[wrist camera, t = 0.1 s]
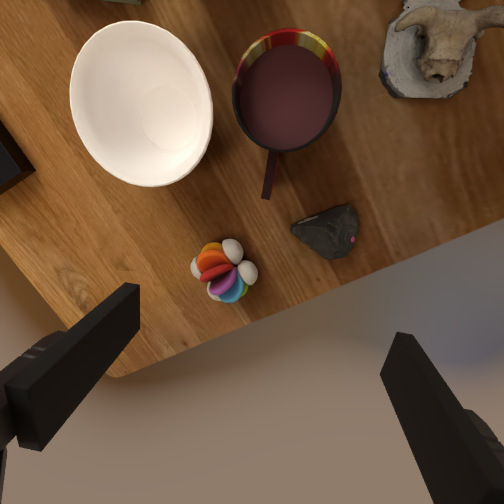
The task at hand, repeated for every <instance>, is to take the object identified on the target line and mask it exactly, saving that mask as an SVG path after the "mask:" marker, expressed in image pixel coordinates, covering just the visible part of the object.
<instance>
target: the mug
mask: <svg viewBox="0 0 504 504" xmlns="http://www.w3.org/2000/svg"><path fill="white" fill-rule="evenodd" d="M341 93H342V80H341V73H340V69H339V65H338V62H337V60H336V58H335V56H334V54H333V52H332V51H331V49H330V48H329V47H328V46H327V44H326V43H325V42H324V41H323V40H321V39H320V38H319V37H318V36H316V35H315V34H312V33H310V32H308V31H306V30H302V29H297V28H282V29H278V30H275V31H271V32H269V33H268V34H266V35H264V36H262V37H260V38H259V39H258V40H257V41H256V42H254V43H253V44H252V45H251V46H250V47H249V49H248V50H247V51H246V52H245V53H244V55H243V57H242V58H241V60H240V62H239V64H238V66H237V69H236V72H235V75H234V79H233V85H232V103H233V108H234V113H235V116H236V118H237V121H238V123H239V125H240V127H241V128H242V130H243V132H244V133H245V134H246V135H247V136H248V137H249V138H250V139H251V140H252V141H253V142H254V143H256V144H257V145H259V146H260V147H263V148H265V149H267V150H269V154H268V160H267V166H266V173H265V179H264V185H263V191H262V195H261V198H262V199H266V200H270V196H271V193H272V189H273V185H274V181H275V175H276V169H277V163H278V158H279V152H292V151H298V150H300V149H303V148H305V147H307V146H309V145H311V144H312V143H314V142H315V141H317V140H318V139H319V138H320V137H321V136H322V135H323V134H324V133H325V132H326V130H327V129H328V128H329V126H330V125H331V124H332V122H333V120H334V118H335V116H336V114H337V111H338V108H339V104H340V101H341Z"/></svg>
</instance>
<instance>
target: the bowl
mask: <svg viewBox="0 0 504 504" xmlns="http://www.w3.org/2000/svg"><path fill="white" fill-rule="evenodd" d="M70 105H71V111H72V116H73V120H74V123H75V126H76V129H77V132H78V134H79V136H80V138H81V140H82V142H83V143H84V145H85V147H86V149H87V150H88V151H89V153H90V154H91V155H92V157H93V158H94V159H95V160H96V161H97V162H98V163H99V164H100V165H101V166H102V167H103V168H104V169H105V170H106V171H108V172H109V173H111V174H112V175H114V176H115V177H117V178H119V179H121V180H123V181H125V182H127V183H130V184H134V185H138V186H142V187H159V186H165V185H169V184H171V183H174V182H176V181H179V180H180V179H182V178H183V177H185V176H186V175H188V174H189V173H190V172H191V171H192V170H193V169H194V168H195V167H196V166H197V164H198V163H199V162H200V160H201V159H202V157H203V155H204V153H205V152H206V149H207V147H208V144H209V141H210V138H211V133H212V127H213V102H212V97H211V92H210V87H209V85H208V82H207V79H206V77H205V74H204V71H203V70H202V68H201V66H200V65H199V63H198V61H197V59H196V58H195V56H194V55H193V54H192V53H191V51H190V50H189V49H188V48H187V47H186V46H185V44H184V43H183V42H181V41H180V40H179V39H178V38H176V37H175V36H174V35H173V34H171V33H170V32H168V31H166V30H164V29H162V28H160V27H158V26H156V25H154V24H150V23H145V22H141V21H121V22H118V23H114V24H111V25H108V26H106V27H104V28H103V29H101V30H99V31H98V32H96V33H95V34H94V35H93V36H92V37H91V38H90V39H89V40H88V41H87V42H86V43H85V44H84V46H83V48H82V49H81V51H80V53H79V54H78V56H77V58H76V61H75V64H74V67H73V70H72V74H71V81H70Z"/></svg>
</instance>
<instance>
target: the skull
mask: <svg viewBox="0 0 504 504" xmlns="http://www.w3.org/2000/svg"><path fill="white" fill-rule="evenodd" d="M459 1H461V0H403V1H402V3H403V4H405V5H404V7H403V8H404V12H403V13H401V16H399V18H398V19H396V20H395V21H394V22H393V23H392V24H391V22H392V21H393V18H392V20H391V21H390V22H389V24H388V30H387V37H386V42H385V48H384V55H383V59H382V64H381V70H380V74H379V77H380V79H381V80H382V83H383V85H384V86H385V87H386V88H387V89H388V92H389V94H390V95H391V96H393V97H394V98H405V97H412V98H447V99H449V98H451V97H453V96H454V95H455V94H457V93H458V92H459V91H461V90H462V89H464V88H466V87H467V86H466V84H467V82H468V81H469V79H468V78H469V77H470V75H472V74H473V73H470V71H471V70H472V61H473V58H472V56H474V52H475V48H476V47H475V46H476V43H475V42H474V40H476V39H479V38H481V37H482V36H483V34H484V31H485V29H487V28H491V27H501V28H504V6H503V5H497V6H496V5H495V6H490V7H486V8H483V9H481V10H475V11H473V10H465V9H463V8H461V6H459V3H458V2H459ZM407 6H409V9H408V8H406V7H407ZM390 24H391V25H390ZM474 43H475V44H474ZM470 78H471V77H470ZM467 85H468V84H467Z"/></svg>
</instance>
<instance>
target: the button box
mask: <svg viewBox="0 0 504 504" xmlns="http://www.w3.org/2000/svg"><path fill="white" fill-rule="evenodd" d="M103 1H111V2H119V3H127V4H135V5H141V0H103Z"/></svg>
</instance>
